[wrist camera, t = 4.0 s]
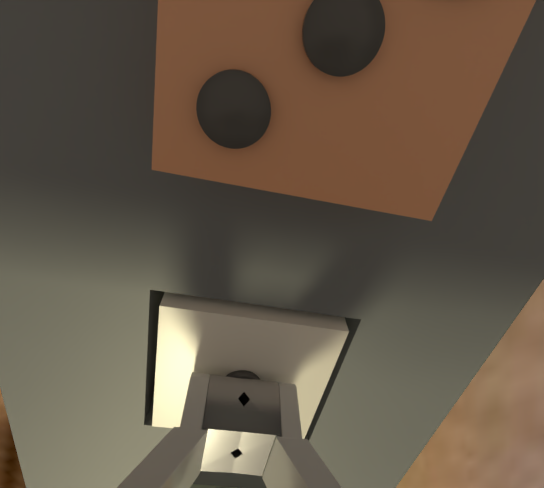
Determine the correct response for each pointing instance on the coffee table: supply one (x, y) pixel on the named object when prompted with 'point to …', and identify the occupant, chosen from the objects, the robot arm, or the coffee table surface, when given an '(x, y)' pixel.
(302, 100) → the three dot button
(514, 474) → the coffee table surface
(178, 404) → the one dot button
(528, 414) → the coffee table surface
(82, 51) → the button board
